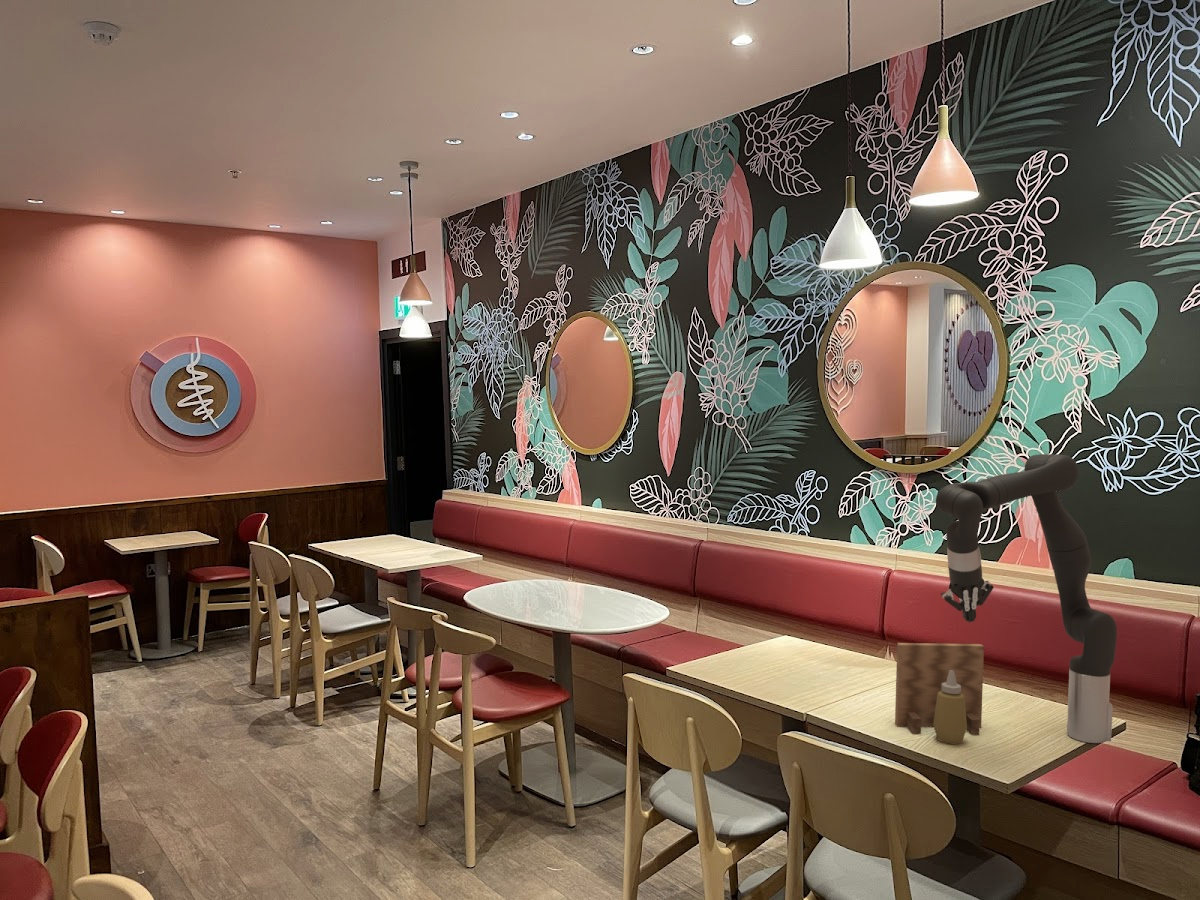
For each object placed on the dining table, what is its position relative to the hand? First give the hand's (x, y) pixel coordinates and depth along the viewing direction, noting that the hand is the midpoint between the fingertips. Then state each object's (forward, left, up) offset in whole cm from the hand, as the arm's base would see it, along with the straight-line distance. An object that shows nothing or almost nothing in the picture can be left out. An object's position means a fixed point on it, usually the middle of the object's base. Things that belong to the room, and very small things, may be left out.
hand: (969, 620), depth 223 cm
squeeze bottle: (+3, -1, -32) cm, 32 cm away
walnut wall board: (+3, -9, -31) cm, 33 cm away
